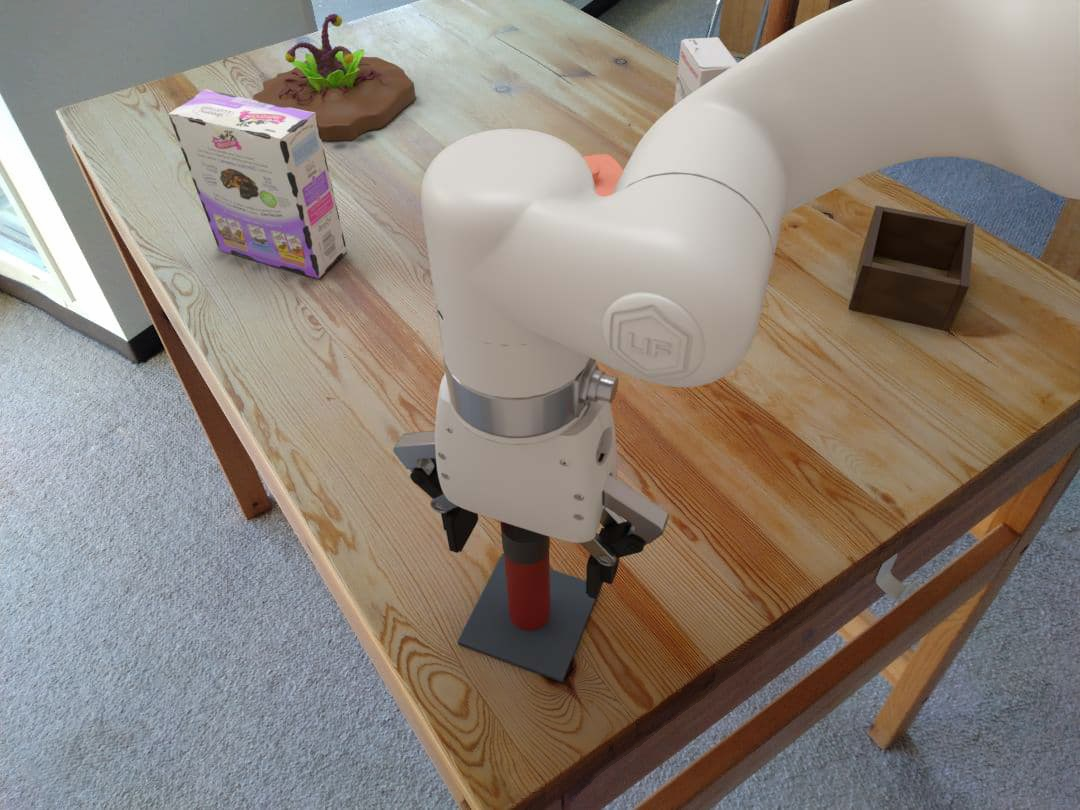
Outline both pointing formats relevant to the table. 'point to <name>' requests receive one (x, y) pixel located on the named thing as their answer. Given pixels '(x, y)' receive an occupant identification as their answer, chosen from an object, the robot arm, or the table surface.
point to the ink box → (700, 64)
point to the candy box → (262, 180)
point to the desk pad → (536, 648)
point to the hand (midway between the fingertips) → (530, 557)
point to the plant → (340, 88)
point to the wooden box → (908, 289)
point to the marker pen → (527, 576)
